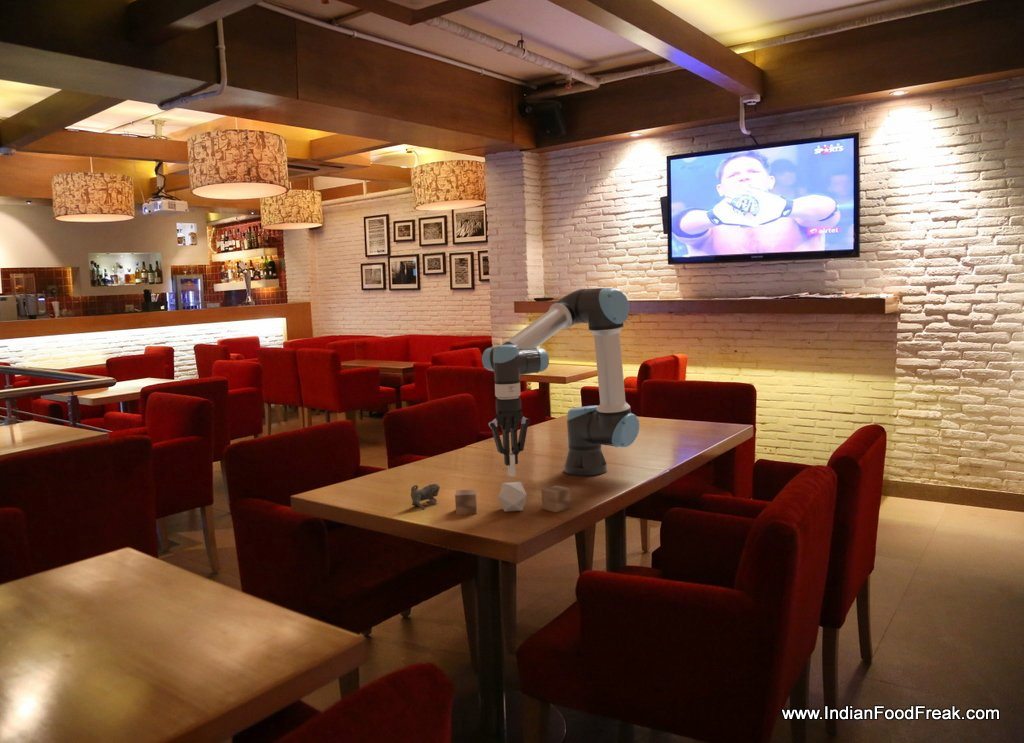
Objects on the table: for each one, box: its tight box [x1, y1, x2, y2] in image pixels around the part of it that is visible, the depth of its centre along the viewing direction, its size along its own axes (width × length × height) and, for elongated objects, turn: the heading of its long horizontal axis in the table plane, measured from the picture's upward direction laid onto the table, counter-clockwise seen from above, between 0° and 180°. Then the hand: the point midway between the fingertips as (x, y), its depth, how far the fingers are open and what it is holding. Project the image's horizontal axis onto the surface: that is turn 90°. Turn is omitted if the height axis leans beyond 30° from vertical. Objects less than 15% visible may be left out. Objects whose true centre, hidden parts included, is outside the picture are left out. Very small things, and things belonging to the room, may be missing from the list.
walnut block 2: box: [541, 485, 572, 513], centre depth 234 cm, size 6×6×6 cm
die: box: [497, 481, 528, 513], centre depth 235 cm, size 8×9×10 cm
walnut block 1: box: [454, 488, 478, 516], centre depth 235 cm, size 6×6×6 cm
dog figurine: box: [410, 483, 441, 510], centre depth 244 cm, size 12×6×7 cm, turn 140°
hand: (511, 475), depth 234 cm, fingers closed
